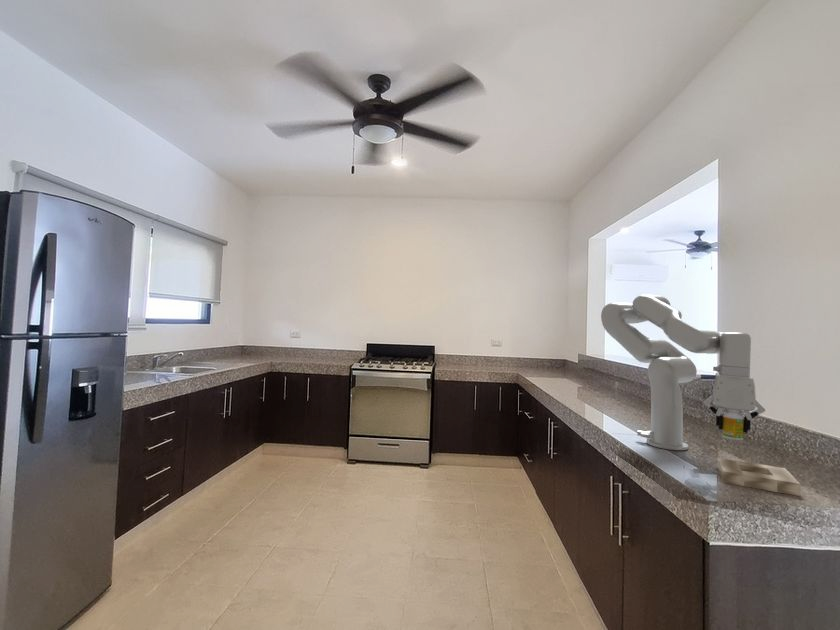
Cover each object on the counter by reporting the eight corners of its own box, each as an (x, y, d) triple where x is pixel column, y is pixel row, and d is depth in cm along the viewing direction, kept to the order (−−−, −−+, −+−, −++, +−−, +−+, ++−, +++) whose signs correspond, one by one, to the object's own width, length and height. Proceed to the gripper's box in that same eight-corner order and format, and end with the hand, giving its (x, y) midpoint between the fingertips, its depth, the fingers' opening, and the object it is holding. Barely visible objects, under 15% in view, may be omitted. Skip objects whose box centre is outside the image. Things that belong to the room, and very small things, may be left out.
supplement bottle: (737, 441, 117) (737, 409, 117) (717, 436, 122) (718, 405, 122) (747, 439, 119) (748, 408, 119) (727, 434, 124) (728, 404, 124)
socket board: (723, 482, 103) (723, 471, 103) (717, 468, 115) (717, 457, 115) (800, 496, 95) (800, 483, 95) (785, 479, 107) (785, 468, 107)
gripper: (701, 370, 122) (699, 427, 122) (773, 376, 113) (772, 438, 113) (699, 368, 128) (697, 423, 128) (767, 373, 119) (766, 432, 119)
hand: (732, 429), depth 120 cm, fingers closed on supplement bottle, 5 cm apart
